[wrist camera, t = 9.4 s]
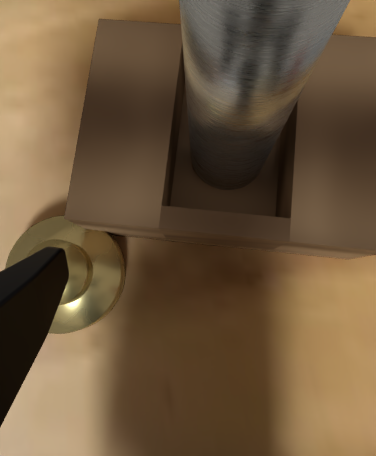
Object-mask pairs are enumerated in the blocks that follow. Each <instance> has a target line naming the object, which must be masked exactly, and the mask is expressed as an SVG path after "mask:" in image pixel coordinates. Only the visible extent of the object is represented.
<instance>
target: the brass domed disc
mask: <svg viewBox="0 0 376 456" xmlns="http://www.w3.org/2000/svg"><path fill="white" fill-rule="evenodd" d="M48 246H51V247H59V248H63V249H64V250H65V253H66V258H67V263H68V269H69V279H68V282H67V285H66V288H65V290H64V293H63V296H62V298H61V301H60V304H59V306H58V309H57V311H56V314H55V317H54V319H53V322H52V325H51V327H50V330H49V332H48V333H54V334H65V333H70V332H74V331H78V330H81V329H83V328H86V327H89V326H91V325H93V324H95V323H96V322H98V321H100V320H101V319H102V318H104V317H105V316H106V315H107V314H108V313H109V312H110V311H111V310H112V309H113V307H114V306H115V304H116V303H117V301H118V299H119V297H120V295H121V293H122V290H123V287H124V282H125V261H124V257H123V254H122V251H121V249H120V247H119V245H118V244H117V242H116V241H115V239H114V238H113V237H112V236H111V235H110V234H109V233H107V232H105V231H99V230H90V229H85V228H83V227H80V226H78V225H76V224H74V223H72V222H70V221H68V220H66V219H64V216H56V217H51V218H48V219H45V220H43V221H41V222H38V223H37V224H35V225H34V226H32V227H31V228H29V229H28V230H27V231H26V232H25V233H24V234H23V235H22V236H21V237H20V238H19V239H18V241H17V242H16V243H15V245H14V246H13V248H12V250H11V252H10V254H9V257H8V260H7V263H6V268H8V267H10V266H12V265H14V264H15V263H17V262H19V261H21V260H23V259H25V258H26V257H28V256H30V255H32V254H34V253H36V252H37V251H39V250H41V249H43V248H45V247H48ZM6 268H5V269H6Z"/></svg>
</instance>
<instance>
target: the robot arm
mask: <svg viewBox="0 0 376 456" xmlns="http://www.w3.org/2000/svg"><path fill="white" fill-rule="evenodd" d="M68 279H69V269H68V263H67V258H66V253H65V250H64V249H63V248H59V247H51V246H48V247H45V248H43V249H41V250H39V251H37V252H36V253H34V254H32V255H30V256H28V257H26V258H25V259H23V260H21V261H19V262H17V263H15V264H14V265H12V266H10V267H8V268H6V269H4V270H3V271H1V272H0V427H1V425H2V423H3V421H4V419H5V417H6V415H7V413H8V411H9V409H10V407H11V405H12V403H13V401H14V399H15V397H16V395H17V394H18V392H19V390H20V388H21V386H22V384H23V382H24V380H25V378H26V376H27V374H28V372H29V370H30V368H31V366H32V364H33V362H34V360H35V358H36V356H37V354H38V353H39V351H40V349H41V347H42V345H43V343H44V341H45V339H46V336H47V334H48V332H49V330H50V327H51V325H52V322H53V319H54V317H55V314H56V311H57V309H58V306H59V304H60V301H61V298H62V296H63V293H64V290H65V288H66V285H67V282H68Z"/></svg>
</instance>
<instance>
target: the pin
mask: <svg viewBox="0 0 376 456" xmlns="http://www.w3.org/2000/svg"><path fill="white" fill-rule="evenodd" d="M349 1H350V0H179V3H180V17H181V30H182V43H183V57H184V70H185V83H186V97H187V110H188V123H189V137H190V150H191V161H192V165H193V168H194V170H195V172H196V174H197V175H198V176H199V177H200V179H201V180H202V181H204V182H205V183H206V184H208V185H210V186H212V187H214V188H217V189H222V190H234V189H239V188H241V187H244V186H246V185H248V184H249V183H251V182H252V181H253V180H254V179H255V178H256V177H257V176H258V174H259V173H260V171H261V169H262V167H263V165H264V163H265V161H266V160H267V158H268V156H269V154H270V152H271V150H272V148H273V146H274V144H275V142H276V140H277V139H278V137H279V135H280V133H281V131H282V129H283V127H284V125H285V123H286V121H287V119H288V118H289V116H290V114H291V112H292V110H293V108H294V106H295V104H296V102H297V100H298V98H299V97H300V95H301V93H302V91H303V89H304V87H305V85H306V83H307V81H308V79H309V77H310V76H311V74H312V72H313V70H314V68H315V66H316V64H317V62H318V60H319V58H320V56H321V55H322V53H323V51H324V49H325V47H326V45H327V43H328V41H329V39H330V37H331V35H332V34H333V32H334V30H335V28H336V26H337V24H338V22H339V20H340V18H341V16H342V14H343V13H344V11H345V9H346V7H347V5H348V3H349Z"/></svg>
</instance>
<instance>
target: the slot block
mask: <svg viewBox="0 0 376 456" xmlns="http://www.w3.org/2000/svg"><path fill="white" fill-rule="evenodd" d="M64 219H66V220H68V221H70V222H72V223H74V224H76V225H78V226H80V227H83V228H85V229H90V230H99V231H105V232H107V233H109V234H111V235H120V236H130V237H140V238H149V239H159V240H168V241H178V242H188V243H197V244H207V245H216V246H226V247H236V248H245V249H255V250H265V251H274V252H284V253H293V254H303V255H313V256H322V257H332V258H341V259H354V258H359V257H365V256H371V255H376V38H375V37H360V36H346V35H331V37H330V39H329V41H328V43H327V45H326V47H325V49H324V51H323V53H322V55H321V56H320V58H319V60H318V62H317V64H316V66H315V68H314V70H313V72H312V74H311V76H310V77H309V79H308V81H307V83H306V85H305V87H304V89H303V91H302V93H301V95H300V97H299V98H298V100H297V102H296V104H295V106H294V108H293V110H292V112H291V114H290V116H289V118H288V119H287V121H286V123H285V125H284V127H283V129H282V131H281V133H280V135H279V137H278V139H277V140H276V142H275V144H274V146H273V148H272V150H271V152H270V154H269V156H268V158H267V160H266V161H265V163H264V165H263V167H262V169H261V171H260V173H259V174H258V176H257V177H256V178H255V179H254V180H253V181H252V182H251V183H249V184H248V185H246V186H244V187H241V188H239V189H234V190H222V189H217V188H214V187H212V186H210V185H208V184H206V183H205V182H204V181H202V180H201V179H200V177H199V176H198V175H197V174H196V172H195V170H194V168H193V165H192V161H191V150H190V137H189V123H188V110H187V97H186V83H185V70H184V57H183V43H182V30H181V24H168V23H153V22H138V21H124V20H109V19H99V21H98V27H97V32H96V38H95V44H94V50H93V55H92V61H91V67H90V72H89V78H88V84H87V90H86V95H85V101H84V107H83V112H82V118H81V124H80V130H79V135H78V141H77V147H76V153H75V158H74V164H73V170H72V175H71V181H70V187H69V193H68V198H67V204H66V210H65V215H64Z"/></svg>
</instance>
